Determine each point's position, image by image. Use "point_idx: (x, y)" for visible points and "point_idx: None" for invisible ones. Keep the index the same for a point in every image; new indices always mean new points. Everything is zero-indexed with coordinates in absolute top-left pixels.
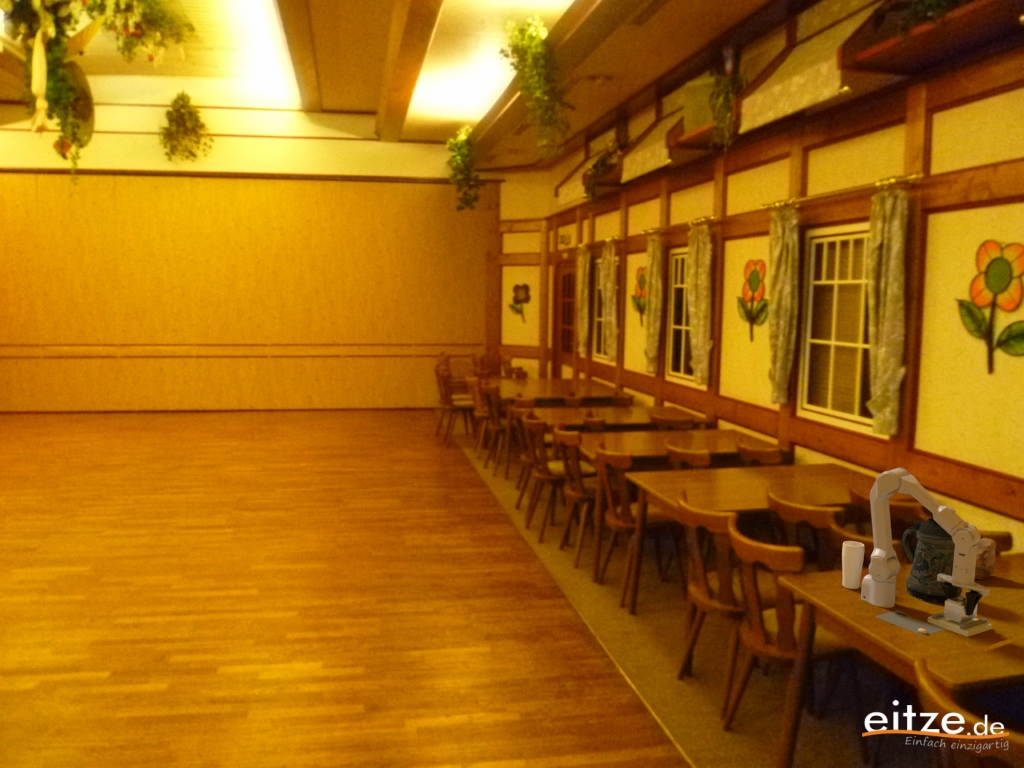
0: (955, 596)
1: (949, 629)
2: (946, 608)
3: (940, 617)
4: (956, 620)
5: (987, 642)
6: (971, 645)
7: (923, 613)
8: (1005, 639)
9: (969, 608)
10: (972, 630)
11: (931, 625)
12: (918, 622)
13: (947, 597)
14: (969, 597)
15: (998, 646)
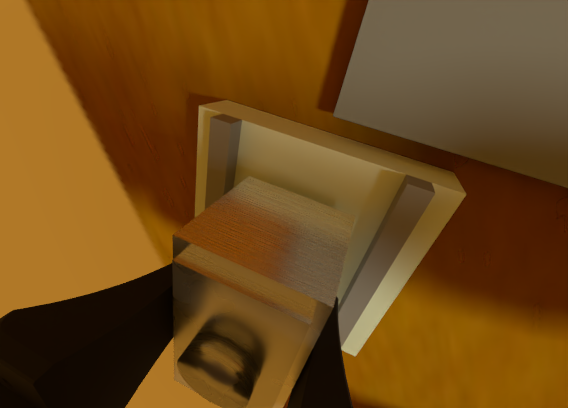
0: (288, 405)
1: (311, 133)
2: (328, 247)
3: (380, 225)
4: (270, 186)
5: (173, 145)
6: (186, 37)
7: (492, 325)
8: (161, 221)
9: (169, 264)
10: (198, 151)
11: (423, 125)
12: (532, 115)
13: (331, 373)
14: (57, 323)
15: (136, 132)
